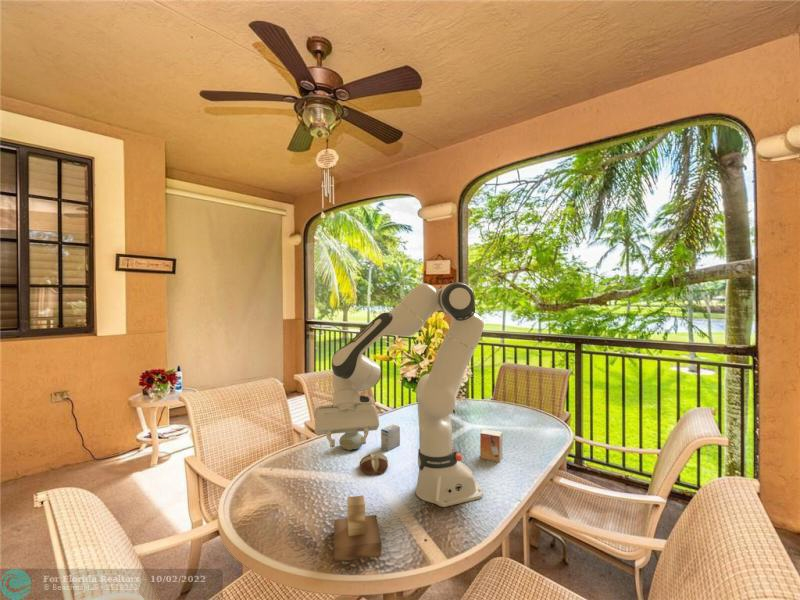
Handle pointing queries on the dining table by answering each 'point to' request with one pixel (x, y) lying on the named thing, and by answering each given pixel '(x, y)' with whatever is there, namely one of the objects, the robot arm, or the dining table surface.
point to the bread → (374, 464)
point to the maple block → (356, 515)
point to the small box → (491, 445)
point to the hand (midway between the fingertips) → (348, 445)
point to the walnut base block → (356, 540)
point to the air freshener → (351, 440)
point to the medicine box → (390, 437)
